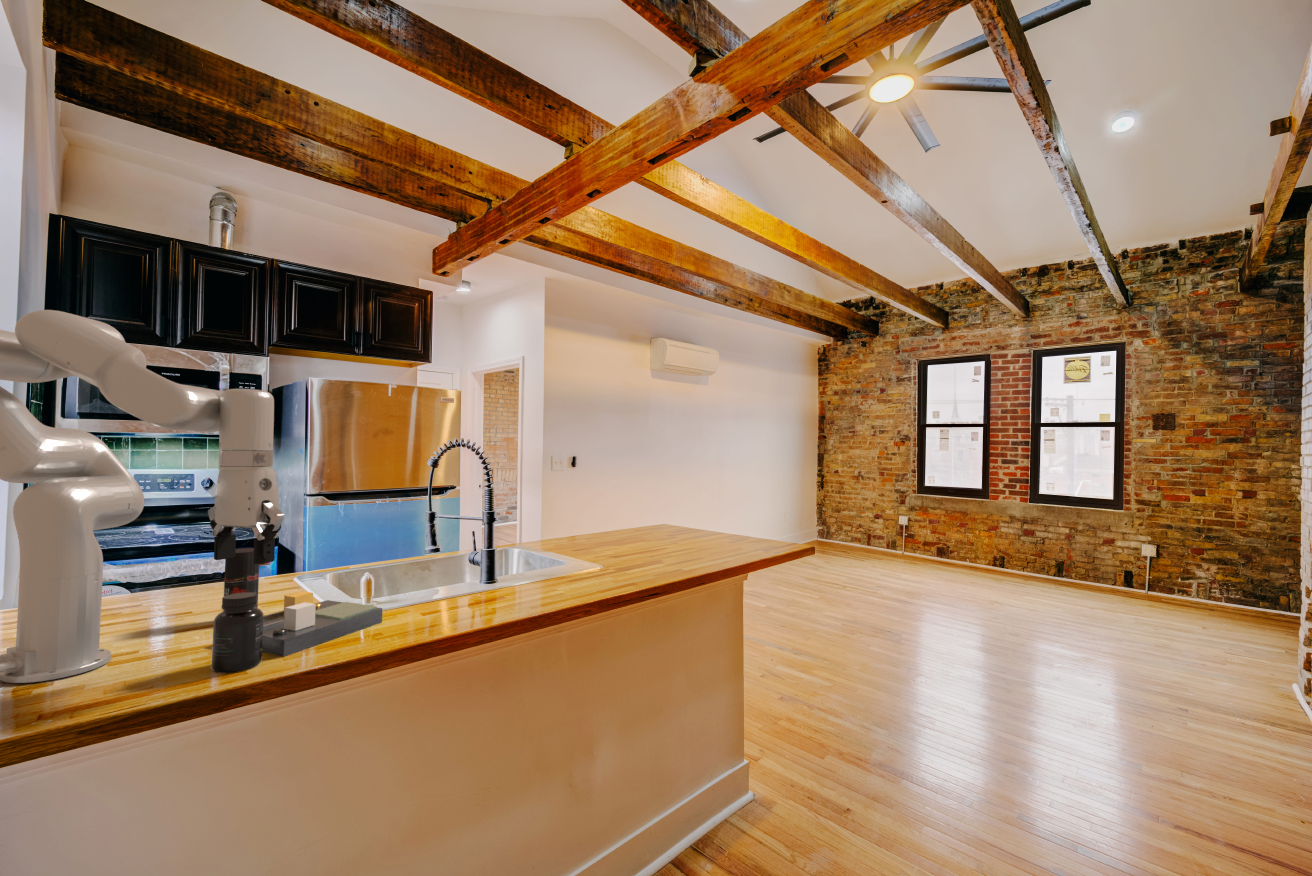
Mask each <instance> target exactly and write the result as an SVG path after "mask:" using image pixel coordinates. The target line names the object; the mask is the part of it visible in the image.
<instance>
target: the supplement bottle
mask: <svg viewBox="0 0 1312 876" xmlns="http://www.w3.org/2000/svg"><path fill="white" fill-rule="evenodd" d="M257 603H258V604H259V601H257V593H253V592H244V593H235V594H230V595H226V596H224V595H223V597H222V598H221V605H220V606H221V607H220V608H221V609H222V611H221V612H220V613H218V614H217V615H216V616H215V617H214V619H213V627H212V628H213V630H212V632H213V633H212V649H211V650H212V651H211V669H212V671H213V672H215V673H217V674H234V673H239V672H245V671H247V670H250V669H253V668H255V667H257V666H258V665H260V663H261V662H262V658H263V657H262V656H263V652H262V641H263V616H264V612H263V610H262V609H260V608H256V607H255V606H256V605H257Z"/></svg>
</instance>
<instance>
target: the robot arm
mask: <svg viewBox="0 0 1312 876" xmlns="http://www.w3.org/2000/svg"><path fill="white" fill-rule="evenodd" d="M18 319H19V320H18V321H17V322H16V324H15V327H14V331H9V330H4V329H0V381H8V382H18V383H26V384H27V383H29V384H33V383H34V384H36V383H37V384H38V383H44V382H45V383H46V382H51V381H55V380H56V381H57V380H61V379H65V378H69V377H76V378H79V379H81V380H83V381H85V382H86V383H89V384H91V385H93V386H95V387H96V388H98V389H99V391H100V393H101V395H103V397H104V398H105V399H106V401H108V402H109V403H110V404H111V405H113V406H114V407H116V408H118V409H120V410H122V411H123V412H124V413H125V412H126V414H129V415H131V416H133V417H135V418H137V419H139V420H142V421H143V422H146V423H147V424H150V425H152V426H155V427H158V428H161V429H164V430H170V431H186V432H187V431H189V432H190V431H191V432H200V433H201V432H205V433H212V432H213V433H216V432H217V433H219V442H218V445H219V447H218V470H219V471H218V475H217V479H216V480H217V481H216V487H215V498H214V506H213V507H211V508H209V509H208V510H207V514H208V515H207V516H208V518H209V520H210V522H209V526H210V527H211V529H212V531H211V533H212V536H213V537H214V542H213V545H214V546H213V559H214V560H215V561H221V560H225V559H228V558H233V557H235V552H236V549H237V548H236V546H237V545H236V544H237V541H236V540H237V534H234V532H235V530H236V529H237V528H240V529H251V530H252V531H253V533H254V536H255V537H256V539H254V540H253V548H254V559H253V562H254V564H259V565H261V564H268V563H271V562H274V561H275V557H276V555H275V554H276V553H275V552H276V544H275V543H276V538H278V536H279V534H278V533H279V532H280V531H281V529H282V523H283V521H284V518H285V514H284V511H282V510H280V499H279V497H280V496H279V487H278V486H279V485H278V478H277V475H276V470H275V468H273V466H274V462H273V461H274V431H275V430H274V426H275V424H274V423H275V398H274V396H273V395H272V394H271V393H270V392H269V391H265V390H263V389H262V390H261V389H253V388H229V389H226V390H217V389H211V388H207V387H206V388H205V387H200V386H194V385H188V384H181V383H178V382H175V381H173V380H170V379H167V378H166V377H163V376H162V375H160V374H158V373H156V372H154V371H152V370H150V369H148V368H147V362H148V361H147V357H146V355H145V354H144V352H143V351H142V350H140V349H139V348H137V347H135V346H133V345H132V344H130V343H127V342H126V340H125V338H124V336H123V335H122V334H121V332H119V330H117V329H116V328H115V327H113V326H111V325H110V324H108V323H106V322H104V321H103V322H102V321H99V320H97V319H93V318H89V317H85V316H81V315H77V314H73V313H70V312H69V313H68V312H65V311H61V310H54V309H41V310H35V311H31V312H29V313H27V314H24V315H23V316H21V317H20V318H18ZM0 480H2V481H3V482H8V483H12V484H31V485H29V486H27V487H26V488H25V489H23V490H22V491H21V492H20V493H19V495H18V496H17V497H16V499H15V501H14V503H13V506H12V515H13V516H12V517H13V522H14V525H15V530H16V533H17V534H16V535H17V538H18V547H19V573H18V575H19V576H18V578H19V581H18V597H17V618H16V619H17V620H16V637H15V646H11V647H8V648H6V653H4V654H3V653H2V654H0V681H1V682H4V683H7V684H8V683H9V684H28V683H30V684H31V683H39V682H47V681H53V680H57V679H62V678H66V677H71V676H76V675H79V674H82V673H86V672H89V671H93V670H95V669H97V668H98V669H99V668H100V667H102V666H104V665H105V664H107V663H108V662H110V661H111V659H112V652H111V651H110V650H109V649H105V648H100V638H101V635H100V634H101V621H102V620H101V617H102V616H101V615H102V597H103V594H102V593H103V577H104V570H103V569H104V556H103V551H102V547H101V546H100V544H99V543H100V542H98V540H97V537H95V533H94V531H98V530H100V531H101V530H105V529H111V528H112V529H113V528H117V527H121V526H124V525H128V524H129V523H131V522H133V521H135V520H137V518H138V517H139V516H140V515H141V513H142V512H143V510H144V508H145V496H144V492H143V489H142V487H141V485H140V484H139V483H138V481H137V480H136V479H135V478H134V476H133V475H132V474H131V473H130V472H129V470H128V469H127V468H126V467H125V466H124V464H123V463H122V462H121V461H120V460H119V459H118V457H117V456H116V454H115V453H114V452H113V451H112V450H111V449H110V448H109V447H108V445H107V444H106V443H105V442H104V441H103V440H101V439H100V438H99V437H97V436H96V435H94V434H92V433H90V432H88V431H85V430H81V429H76V428H68V427H67V428H65V427H63V428H62V427H52V426H48V425H46V424H44V423H42V422H40V420H38V419H37V418H36V417H35V416H34V415H33V413H31V412H30V410H29V409H28V408H27V406H26V405H25V404H24V403H23V401H21V399H19V398H18V397H16V396H15V394H13V393H11V392H10V391H8V390H7V389H5V388H3V387H2V386H0ZM262 528H263V529H262Z"/></svg>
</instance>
